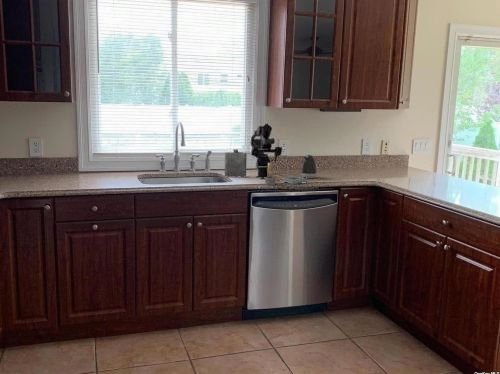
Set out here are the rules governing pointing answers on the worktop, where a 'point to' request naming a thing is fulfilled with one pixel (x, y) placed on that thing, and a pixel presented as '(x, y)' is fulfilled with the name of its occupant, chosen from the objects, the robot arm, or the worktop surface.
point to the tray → (293, 180)
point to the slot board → (281, 176)
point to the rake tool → (270, 175)
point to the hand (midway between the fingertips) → (268, 161)
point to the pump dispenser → (309, 167)
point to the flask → (235, 163)
